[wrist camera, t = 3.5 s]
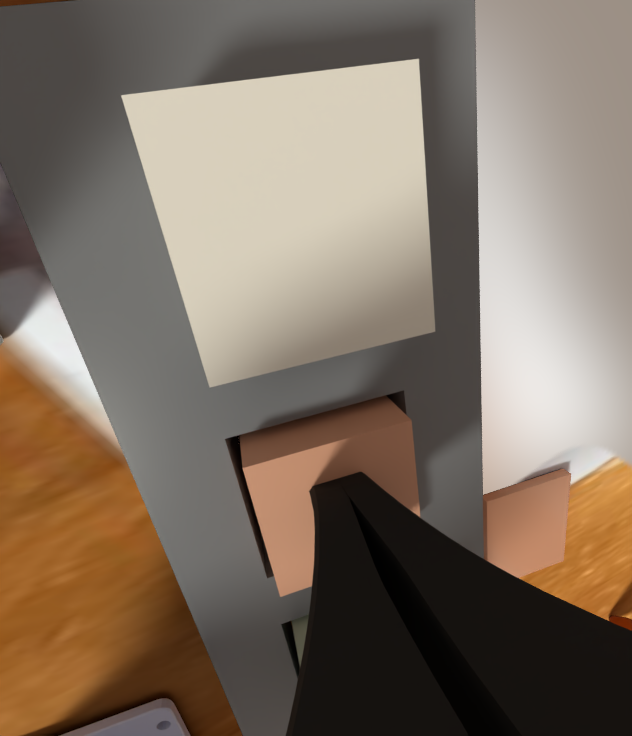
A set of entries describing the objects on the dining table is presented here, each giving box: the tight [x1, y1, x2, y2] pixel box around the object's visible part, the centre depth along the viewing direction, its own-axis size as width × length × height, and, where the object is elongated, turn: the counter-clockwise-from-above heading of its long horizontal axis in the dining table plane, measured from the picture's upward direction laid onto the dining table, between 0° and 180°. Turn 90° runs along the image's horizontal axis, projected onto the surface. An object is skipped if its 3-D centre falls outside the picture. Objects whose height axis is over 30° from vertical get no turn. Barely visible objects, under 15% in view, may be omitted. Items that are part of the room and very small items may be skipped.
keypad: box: [0, 0, 484, 736], centre depth 12 cm, size 21×9×3 cm, turn 10°
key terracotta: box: [239, 395, 421, 597], centre depth 11 cm, size 4×4×4 cm
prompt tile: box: [483, 469, 571, 578], centre depth 17 cm, size 5×4×1 cm
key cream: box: [121, 59, 435, 387], centre depth 7 cm, size 4×4×4 cm
